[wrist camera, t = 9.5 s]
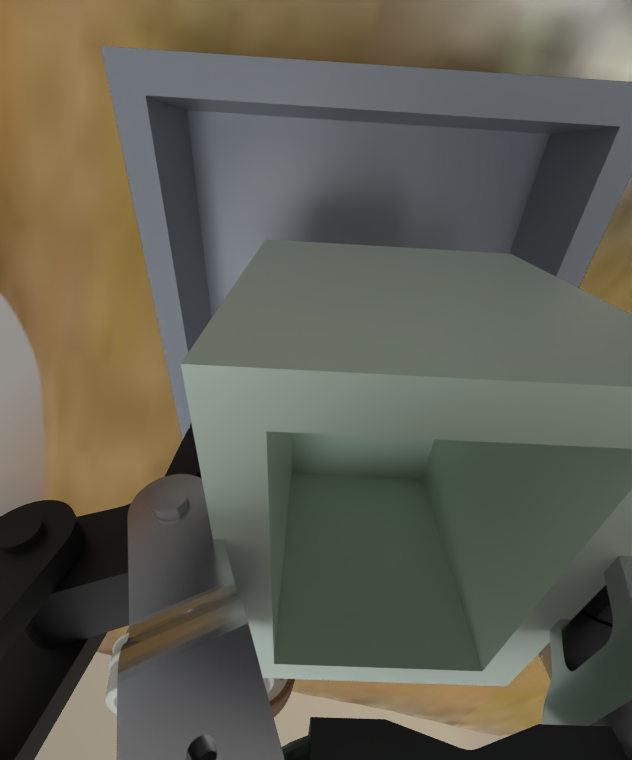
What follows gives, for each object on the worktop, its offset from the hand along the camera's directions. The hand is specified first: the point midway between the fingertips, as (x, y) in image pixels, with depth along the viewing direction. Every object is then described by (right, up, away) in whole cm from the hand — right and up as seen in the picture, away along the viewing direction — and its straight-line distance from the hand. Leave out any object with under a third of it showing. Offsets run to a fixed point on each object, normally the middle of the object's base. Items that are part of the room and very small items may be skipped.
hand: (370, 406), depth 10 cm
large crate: (0, +5, +8) cm, 10 cm away
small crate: (0, +1, +1) cm, 1 cm away
